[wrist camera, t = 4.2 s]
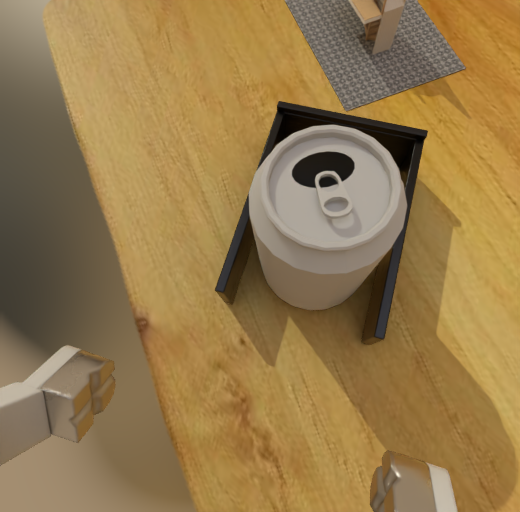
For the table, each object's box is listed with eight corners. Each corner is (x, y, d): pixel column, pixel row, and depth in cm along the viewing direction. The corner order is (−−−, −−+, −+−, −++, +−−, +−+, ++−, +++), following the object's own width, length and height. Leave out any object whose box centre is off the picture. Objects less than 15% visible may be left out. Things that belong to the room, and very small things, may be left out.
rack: (369, 345, 25) (386, 338, 21) (224, 302, 27) (213, 288, 22) (407, 165, 29) (428, 129, 25) (279, 138, 31) (278, 100, 26)
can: (347, 207, 28) (389, 95, 17) (375, 301, 26) (446, 242, 15) (253, 227, 28) (231, 127, 17) (272, 322, 26) (262, 280, 15)
